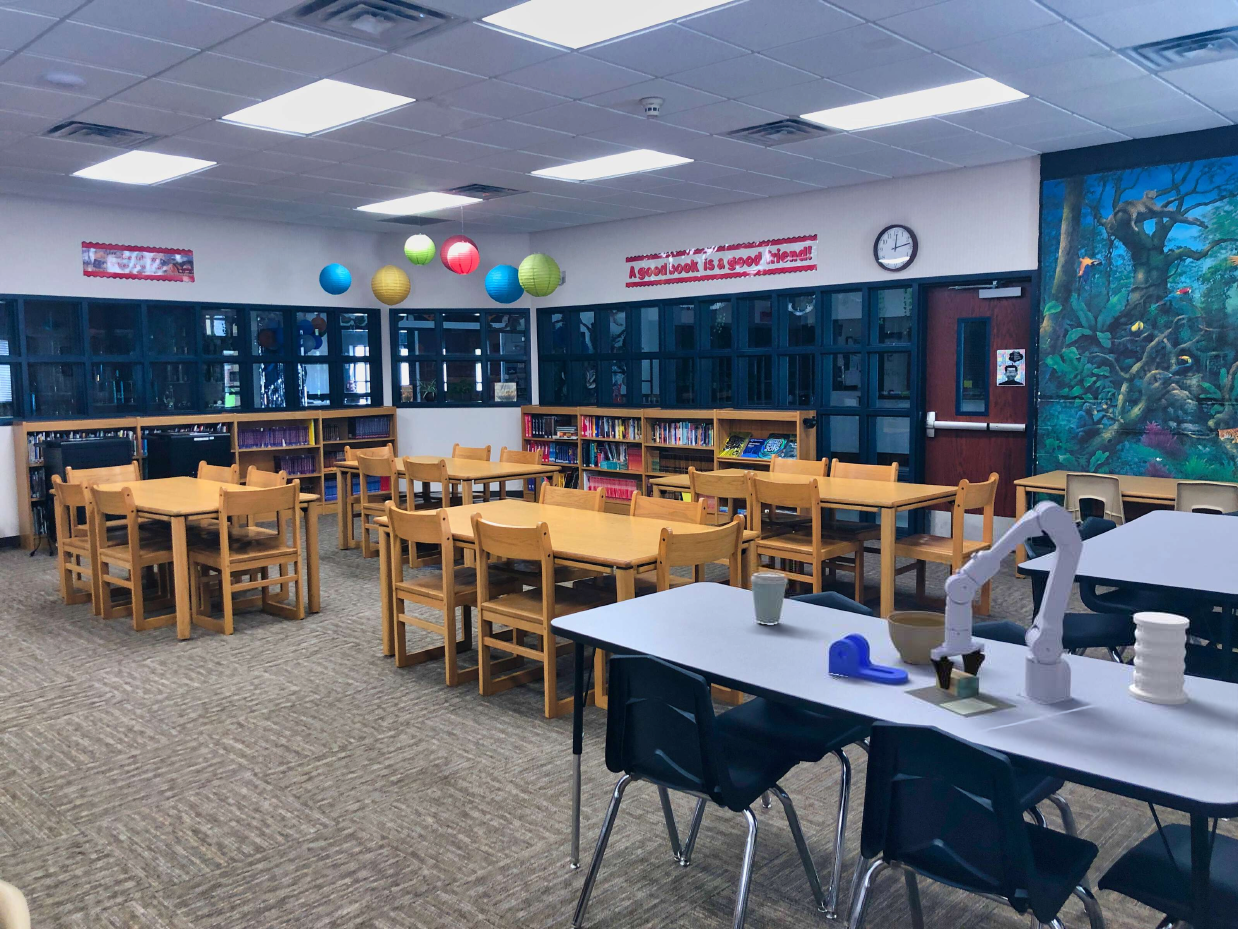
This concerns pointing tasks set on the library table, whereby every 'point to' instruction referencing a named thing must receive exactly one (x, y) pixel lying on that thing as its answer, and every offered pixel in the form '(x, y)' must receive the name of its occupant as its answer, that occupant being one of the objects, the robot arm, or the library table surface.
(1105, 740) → the library table surface
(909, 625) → the planter bowl
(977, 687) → the birch block
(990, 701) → the rubber mat
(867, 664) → the bracket
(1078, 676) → the library table surface
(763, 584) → the disposable coffee cup
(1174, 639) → the decorative container
